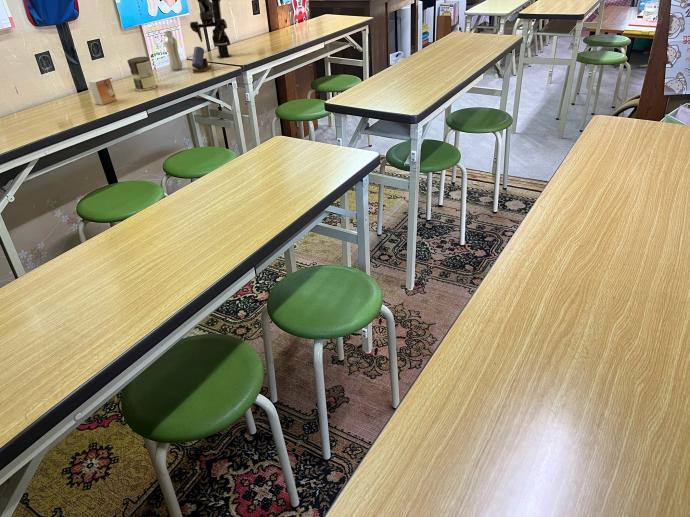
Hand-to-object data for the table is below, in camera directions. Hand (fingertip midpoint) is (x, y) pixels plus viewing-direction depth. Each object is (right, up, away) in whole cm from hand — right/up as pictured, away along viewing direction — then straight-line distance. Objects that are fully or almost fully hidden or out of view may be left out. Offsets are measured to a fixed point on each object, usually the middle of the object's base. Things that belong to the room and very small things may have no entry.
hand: (210, 40), depth 277 cm
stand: (-6, -13, +7) cm, 16 cm away
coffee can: (-28, -31, -15) cm, 44 cm away
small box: (-41, -43, -32) cm, 67 cm away
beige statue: (-22, -11, +14) cm, 28 cm away
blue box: (-7, -8, +2) cm, 11 cm away
